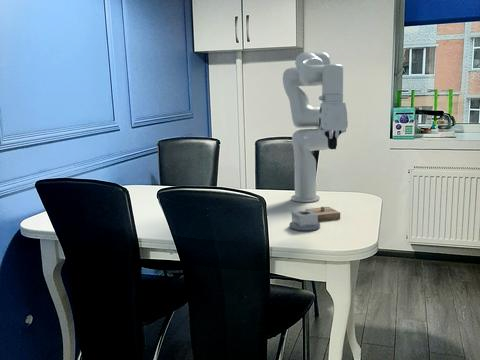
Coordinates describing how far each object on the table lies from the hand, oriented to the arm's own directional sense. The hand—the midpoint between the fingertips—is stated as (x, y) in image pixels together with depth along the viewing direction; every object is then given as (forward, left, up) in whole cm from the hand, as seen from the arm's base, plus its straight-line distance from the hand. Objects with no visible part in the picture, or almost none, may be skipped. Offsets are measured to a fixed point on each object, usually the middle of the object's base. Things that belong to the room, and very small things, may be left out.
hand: (332, 148), depth 179 cm
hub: (+6, -14, -27) cm, 31 cm away
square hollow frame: (+6, -14, -26) cm, 30 cm away
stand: (-4, -2, -27) cm, 27 cm away
